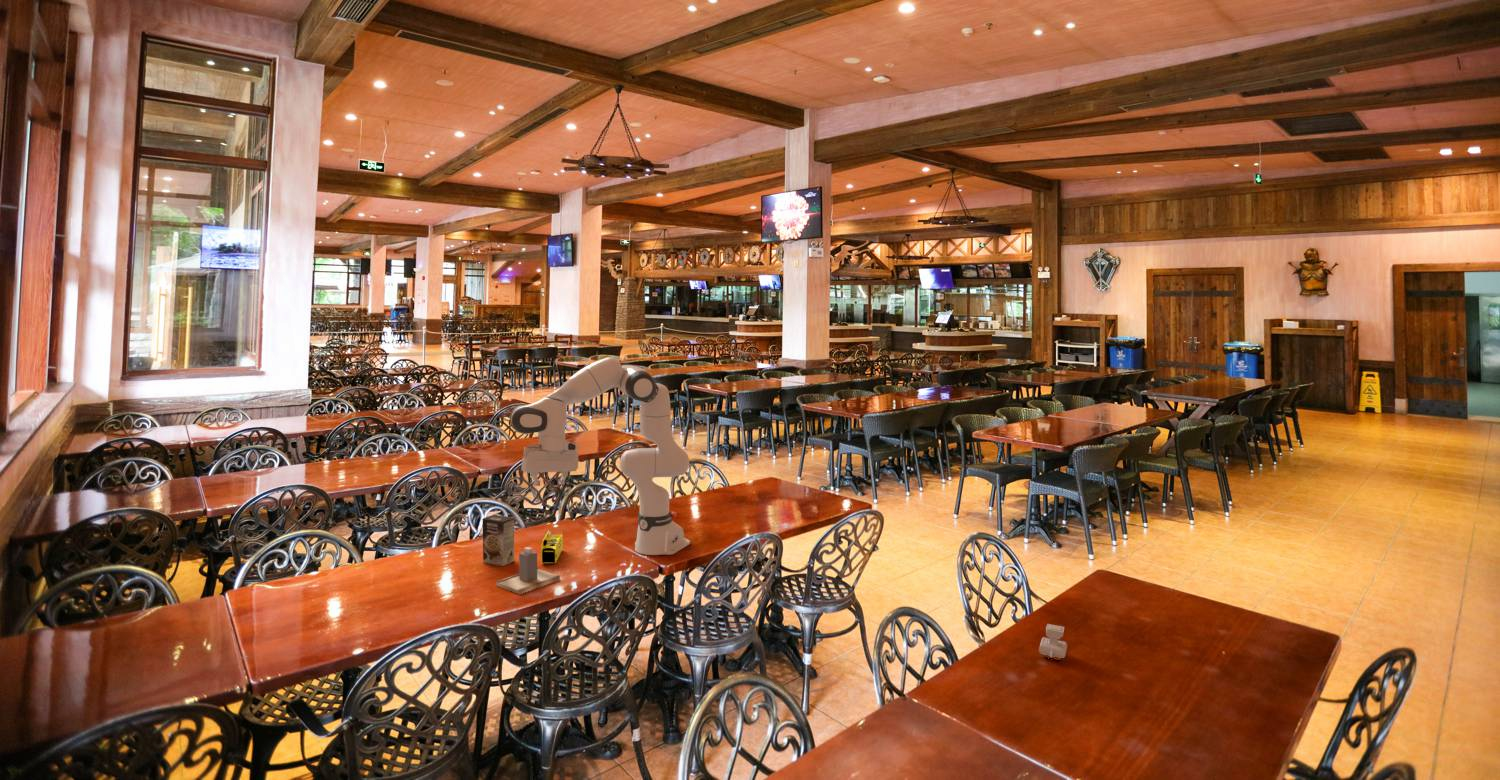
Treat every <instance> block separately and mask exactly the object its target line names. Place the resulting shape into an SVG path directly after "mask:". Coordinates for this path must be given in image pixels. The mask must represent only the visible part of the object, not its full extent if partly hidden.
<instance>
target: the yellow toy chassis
mask: <svg viewBox="0 0 1500 780" xmlns="http://www.w3.org/2000/svg"><path fill="white" fill-rule="evenodd" d="M540 548H541V551H540V553H541V554H540V559H541V561H540V562H541V564H545V565H550V564H551V565H553V564H556V563H557V561H558V559H559V558H560V557H561V555H562V551H563V549H564V535H563V533H561V534H552V533H551V531H550V529H549V530H547V533H546V534H545V536H544V538H543V539H542V541H541V547H540Z"/></svg>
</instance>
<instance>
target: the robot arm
mask: <svg viewBox="0 0 1500 780" xmlns="http://www.w3.org/2000/svg"><path fill="white" fill-rule="evenodd" d="M614 388H616V389H618V390H620V391H621V392H622V394H624V395H626V396H627V397H629V398H631V399H632V400H634V401H637V402H639V403H640V412H639V413H640V416H639V417H640V419H639V421H640V425H639V429H640V433H641V436H642V437H644V438H645V439H646V440H648V441H650V442H653V443H654V444H655V445H656V447H648V448H647V447H642V448H641V447H638V448H632V449H626V450H624V452H623V453H622V454H621V456H620V459H619V468H620V471H621V472H622V474H623V475H624V476H625V477H626V478H627V479H629V480H630V481H631V482H632V484H634V486H635V487H636V489H637V493H638V503H639V512H638V515H637V516H638V517H637V521H638V522H637V523H638V526H637V531H636V540H635V541H634V550H635V551H636V552H637V553H638V554H641V555H647V556H660V555H666V556H667V555H668V556H669V555H675V554H676V553H678V552H679V551H680V550H682V549H684V548H685V547H688V546H689V545H690V544H691V540H689V539H688V538H686V537H685V533H684V532H685V531H684V529H683V528H682V526H680V525H679V524H678V523H676V522H675V521H673V518H677V512H676V511H670V494H669V492H668V490H667V489H666V488H665V487H663V486H661V485H659V484H657V483H655V481H654V480H653V479H655V478H673V477H678V476H679V477H680V476H683V475H685V474H686V473H687V471H688V470H689V467H690V457H689V455H688V453H687V451H685V449H683V448H682V447H680V445H678V444H677V442H676V440H675V439H674V437H673V434H672V424H671V421H672V420H671V416H672V415H671V414H672V413H671V412H672V411H671V399H670V393H669V389H668V387H667V386H666V385H664V384H662V383H659V382H656V381H655V379H654V377H653V376H652V374H650V373H649V372H648V371H646V370H645V369H643V368H642V367H641V366H638V365H635V364H632V363H620V361H619V360H618V359H616V358H615V357H612V356H607V357H604V358H601V359H599V360H596V361H594V362H592V363H590V364H588V365H586V366H585V367H582V368H581V369H579V370H578V371H577V372H575V373H574V374H572V376H570V377H569V378H568V379H567V380H566V381H565V382H564V383H563V384H562V385H560V387H558V388H557V389H556V390H555V391H553V392H551V393H550V394H548V395H547V396H544V397H543V398H541V399H539V400H538V401H536V402H533V403H527V404H521V405H517V406H516V407H514V409H513V410H511V412H510V415H509V424H510V426H511V428H512V430H514V431H515V432H517V433H519V434H522V435H532V434H534V433H538V444H528V445H527V446H526V447H524V449H523V457H522V461H521V467H520V468H521V471H522V473H526V474H530V475H531V479H532V480H533V486H534V487H540V486H541V480H539V479H538V476H539V473H558V472H559V473H560V472H561V477H560V479H559V478H558V479H557V480H558V482H557V484H558V486H559V485H560V486H562V485H563V486H564V485H565V483H566V479H567V477H568V476H569V472H576V471H577V470H578V468H579V453H578V452H577V451H578V448H579V446H578V444H577V443H574V442H572V441H568V440H566V426H567V417H568V416H567V415H568V413H567V411H568V409H567V406H570V405H575V404H580V403H581V404H582V403H585V402H588V401H590V400H593V399H595V398H598V397H599V396H601V395H602V394H603V395H604V393H606V392H607V391H609V390H612V389H614ZM672 517H673V518H672Z"/></svg>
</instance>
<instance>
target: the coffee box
mask: <svg viewBox="0 0 1500 780" xmlns="http://www.w3.org/2000/svg"><path fill="white" fill-rule="evenodd" d="M482 559H483V560H482V562H483V563H485V564H491V565H496V566H502V567H504V566H507V565H509V564H511V563H512V562H514V561H515V517H511V516H506V515H499V514H493V515H492V514H491V515H488V516H486V517H484V518H482Z"/></svg>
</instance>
